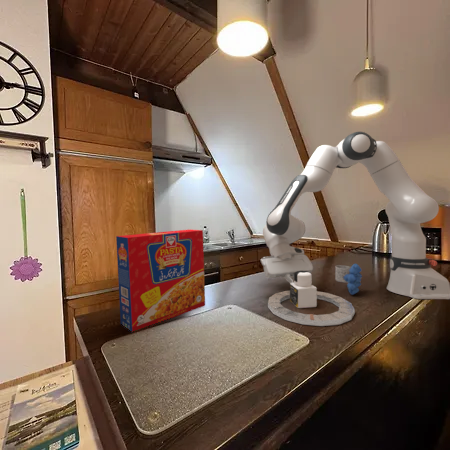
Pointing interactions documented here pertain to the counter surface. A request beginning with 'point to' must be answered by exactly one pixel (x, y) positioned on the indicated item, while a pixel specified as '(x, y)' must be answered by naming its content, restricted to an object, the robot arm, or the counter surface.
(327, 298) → the turntable ring
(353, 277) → the grapes
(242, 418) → the counter surface
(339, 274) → the mug
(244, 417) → the counter surface
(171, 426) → the counter surface
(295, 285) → the medicine bottle
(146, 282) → the pasta box
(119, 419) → the counter surface
